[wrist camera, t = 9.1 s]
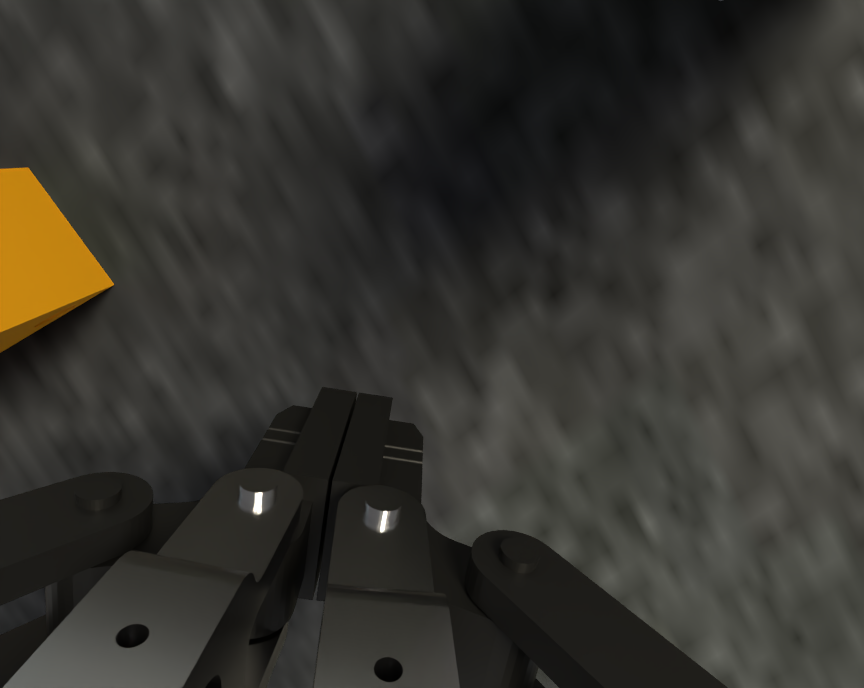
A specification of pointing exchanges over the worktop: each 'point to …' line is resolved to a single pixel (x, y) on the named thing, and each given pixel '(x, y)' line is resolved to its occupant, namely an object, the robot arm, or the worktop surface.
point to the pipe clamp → (39, 260)
